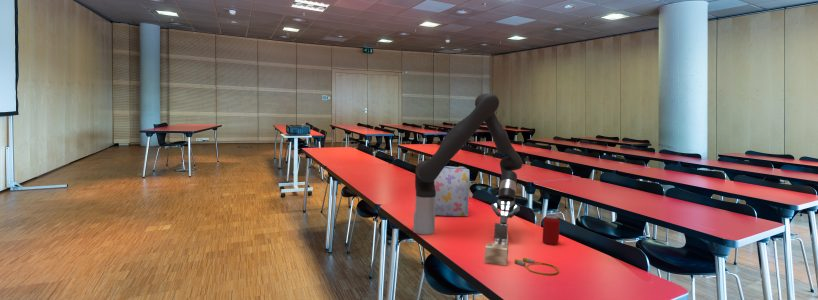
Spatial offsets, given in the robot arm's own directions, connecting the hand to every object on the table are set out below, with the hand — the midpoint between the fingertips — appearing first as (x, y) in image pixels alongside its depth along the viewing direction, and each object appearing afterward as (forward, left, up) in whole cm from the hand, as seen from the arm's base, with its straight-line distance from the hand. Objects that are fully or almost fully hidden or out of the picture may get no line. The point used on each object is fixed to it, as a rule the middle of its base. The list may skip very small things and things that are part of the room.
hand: (503, 224), depth 187 cm
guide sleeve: (0, -6, -9) cm, 11 cm away
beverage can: (+20, +10, -9) cm, 24 cm away
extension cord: (+15, -24, -9) cm, 30 cm away
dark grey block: (0, -15, -9) cm, 17 cm away
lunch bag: (-34, +44, -9) cm, 56 cm away
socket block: (0, -23, -9) cm, 25 cm away
